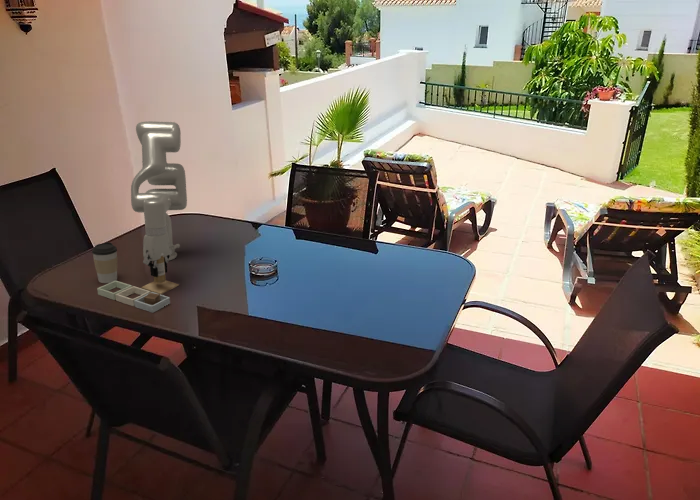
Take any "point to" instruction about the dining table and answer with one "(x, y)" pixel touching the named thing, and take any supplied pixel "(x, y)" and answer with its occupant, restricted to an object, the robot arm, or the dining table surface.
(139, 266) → the dining table surface
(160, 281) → the sprinkles bottle
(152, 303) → the walnut cube
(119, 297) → the tray cream
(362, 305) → the dining table surface
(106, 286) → the tray sage
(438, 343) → the dining table surface
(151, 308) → the tray blue
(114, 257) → the coffee cup
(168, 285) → the coaster
